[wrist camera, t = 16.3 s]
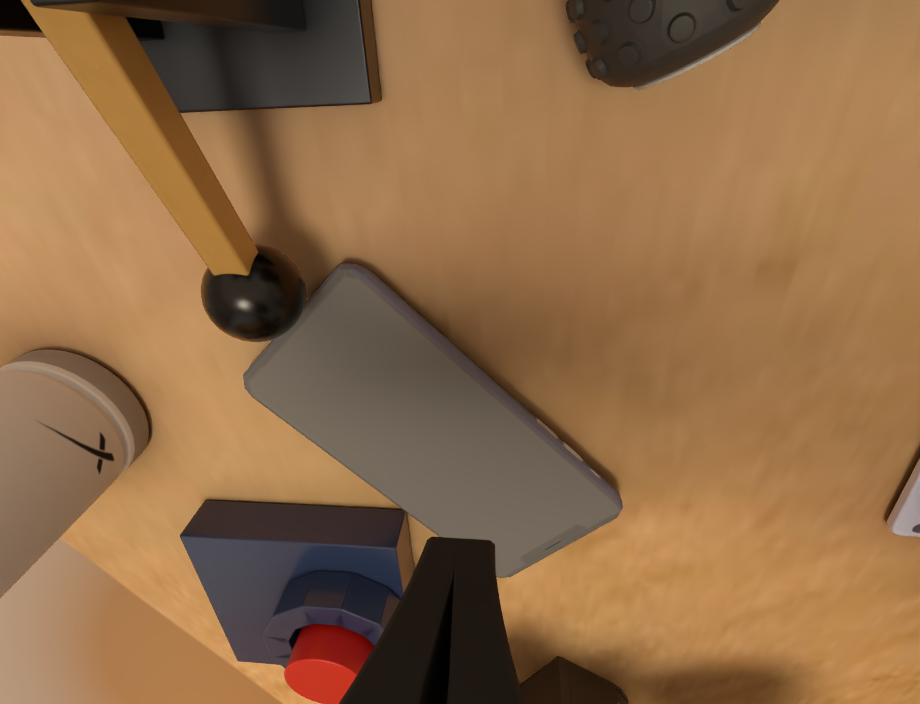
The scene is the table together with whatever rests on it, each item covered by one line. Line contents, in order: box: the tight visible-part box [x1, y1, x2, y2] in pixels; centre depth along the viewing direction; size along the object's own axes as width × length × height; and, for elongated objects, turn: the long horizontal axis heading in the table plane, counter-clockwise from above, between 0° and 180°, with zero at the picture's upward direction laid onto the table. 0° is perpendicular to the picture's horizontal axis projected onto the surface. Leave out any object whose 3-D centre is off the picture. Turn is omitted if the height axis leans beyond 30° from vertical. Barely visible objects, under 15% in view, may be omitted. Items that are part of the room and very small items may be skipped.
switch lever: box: [21, 0, 306, 342], centre depth 12 cm, size 13×3×3 cm, turn 3°
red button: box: [284, 624, 374, 704], centre depth 23 cm, size 4×4×2 cm
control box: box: [180, 500, 414, 668], centre depth 25 cm, size 10×10×4 cm
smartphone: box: [243, 263, 623, 578], centre depth 21 cm, size 8×1×15 cm
